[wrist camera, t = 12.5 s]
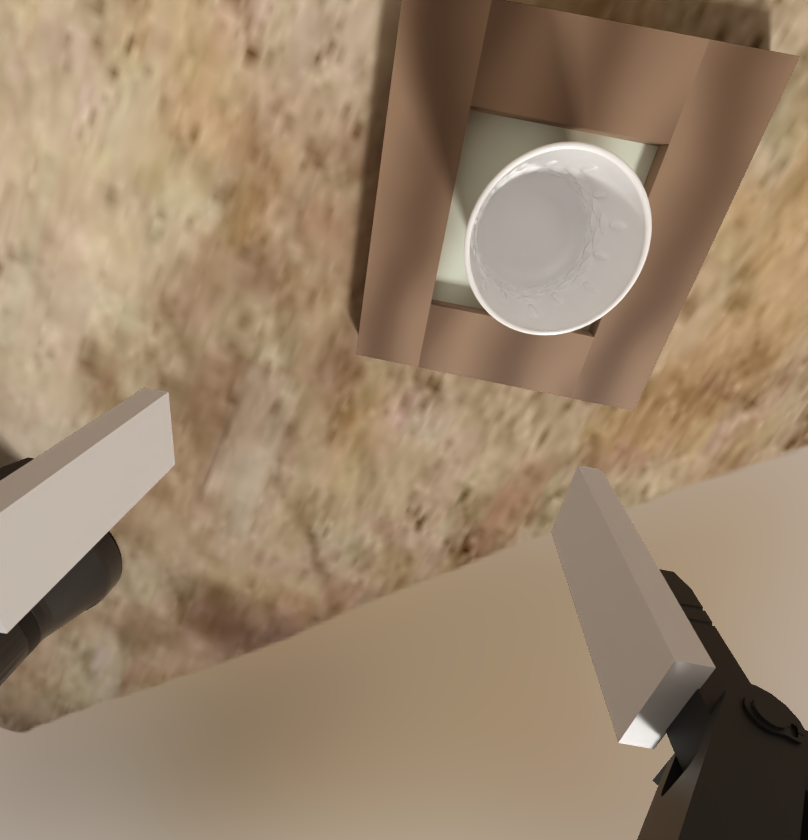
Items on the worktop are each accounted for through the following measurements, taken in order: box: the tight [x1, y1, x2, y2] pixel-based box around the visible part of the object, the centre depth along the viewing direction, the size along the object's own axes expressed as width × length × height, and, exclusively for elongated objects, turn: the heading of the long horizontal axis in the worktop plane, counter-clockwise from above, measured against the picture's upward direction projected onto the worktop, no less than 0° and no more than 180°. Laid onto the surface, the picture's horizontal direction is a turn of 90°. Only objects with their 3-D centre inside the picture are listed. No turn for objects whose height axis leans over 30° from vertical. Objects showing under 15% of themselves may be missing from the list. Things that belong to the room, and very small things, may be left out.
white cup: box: [464, 142, 652, 335], centre depth 24 cm, size 8×8×10 cm
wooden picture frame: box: [356, 0, 800, 411], centre depth 28 cm, size 20×20×2 cm
